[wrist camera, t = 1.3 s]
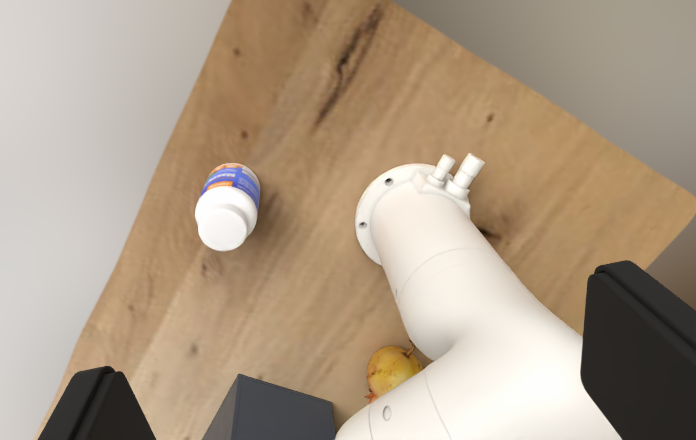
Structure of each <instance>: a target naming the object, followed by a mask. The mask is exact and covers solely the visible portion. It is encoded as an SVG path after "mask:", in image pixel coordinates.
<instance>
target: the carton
mask: <svg viewBox="0 0 696 440" xmlns="http://www.w3.org/2000/svg"><path fill="white" fill-rule="evenodd" d="M335 437H336V436H335V427H334V419H333V410H332V402H329V401H326V400H323V399H320V398H316V397H313V396H310V395H306V394H303V393H300V392H297V391H293V390H290V389H287V388H283V387H280V386H277V385H274V384H270V383H267V382H264V381H260V380H257V379H254V378H251V377H247V376H244V375H241V374H238V376H237V378H236V379H235V381H234V383H233V385H232V387H231V388H230V390H229V392H228V394H227V396H226V397H225V399H224V401H223V403H222V405H221V406H220V408H219V410H218V412H217V414H216V415H215V417H214V419H213V421H212V423H211V424H210V426H209V428H208V430H207V432H206V433H205V435H204V437H203V439H202V440H335Z"/></svg>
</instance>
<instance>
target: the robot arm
mask: <svg viewBox="0 0 696 440" xmlns="http://www.w3.org/2000/svg"><path fill="white" fill-rule="evenodd" d="M455 162H456V161H455V160H454V159H453V158H451V157H450V156H448V155H446V154H443V156H442V158H441V159H440V161H439V162H438V164H437V167H436V166H433V165H428V164H416V163H413V164H407V165H401V166H399V167H396V168H393V169H390V170H389V171H387V172H385V173H383V174H382V175H380V176H379V177H378V178H377V179H375V180H374V181H373V182H372V183H371V184H370V185H369V186H368V188H367V189H366V190H365V191H364V193H363V195H362V196H361V198H360V200H359V203H358V205H357V208H356V213H355V231H356V235H357V239H358V241H359V243H360V246H361V248H362V249H363V250H364V252H365V253H366V255H367V256H368V257H369V258H370V259H372V260H373V261H374V262H375V263H377V264H379V265H380V266H382V267H383V268H384V271H385V274H386V277H387V279H388V282H389V285H390V288H391V291H392V293H393V296H394V299H395V302H396V304H397V307H398V310H399V313H400V316H401V318H402V321H403V324H404V327H405V329H406V331H407V334H408V336H409V337H410V339H411V341H412V342H413V343H414V344H415V346H416V347H417V348H418V349H419V350H420V351H421V352H422V353H423V354H424V355H425V356H427V357H428V358H429V359H431V360H432V361H433V363H431V364H429V365H428V366H426V368H425V369H424V370H422V371H420V372H419V373H417V374H416V375H414V376H413V377H411V378H409V379H408V380H406V381H405V382H403V383H401V384H400V385H398V386H397V387H395V388H394V389H392V390H390V391H389V392H387V393H386V394H384V395H382V396H381V397H379V398H378V399H376V400H375V401H373V402H372V403H370V404H368V405H367V406H365V407H364V408H362V409H361V410H360V411H358V412H357V413H355V414H354V415H353V416H352V417H350V418H349V419H348V420H347V421H346V422H345V423H344V424H343V425H342V427H341V428H340V430H339V431H338V433H337V435H336V437H335V440H696V311H695V310H694V309H693V308H691V307H690V306H689V305H688V304H686V303H685V302H684V301H682V300H681V299H680V298H679V297H677V296H676V295H675V294H673V293H672V292H671V291H670V290H668V289H667V288H666V287H664V286H663V285H662V284H660V283H659V282H658V281H657V280H655V279H654V278H653V277H651V276H650V275H649V274H648V273H646V272H645V271H644V270H642V269H641V268H640V267H638V266H637V265H636V264H635V263H633V262H631V261H627V260H625V261H620V262H615V263H610V264H605V265H600V266H598V267H597V268H596V269H595V272H594V274H593V275H590V276H589V278H588V282H587V295H586V307H585V319H584V331H583V337H582V336H581V335H579V334H578V333H577V332H576V331H574V330H573V329H572V328H571V327H569V326H568V325H567V324H566V323H564V322H563V321H562V320H561V319H559V318H558V317H557V316H556V315H554V314H553V313H552V312H551V311H549V310H548V309H547V308H546V307H545V306H544V305H543V304H542V303H541V302H540V301H539V300H537V298H536V297H535V296H534V295H533V294H532V293H531V292H530V291H529V290H528V289H527V288H526V287H525V286H524V284H523V283H522V282H521V281H520V280H519V279H518V278H517V276H516V275H515V274H514V273H513V272H512V270H511V269H510V268H509V267H508V265H507V264H506V263H505V262H504V261H503V260H502V258H501V257H500V256H499V255H498V253H497V252H496V251H495V250H494V249H493V247H492V246H491V245H490V244H489V242H488V241H487V240H486V239H485V238H484V236H483V235H482V234H481V233H480V231H479V230H478V229H477V228H476V227H475V225H474V224H473V223H472V222H471V220H470V207H471V205H470V204H469V200H468V197H467V195H468V193H469V192H470V191H469V189H468V187H469V185H470V184H471V182H472V181H473V179H474V178H475V177H476V176H477V174H478V173H479V171H480V170H481V168H482V167H483V165H484V164H485V162H484V161H483V160H481V159H480V158H478V157H476V156H474V155H473V154H471V153H468V154H467V156H466V157H465V159H464V160H463V162H462V164H461V165H460V167H459V170H458V172H457V173H456V175H455V176H454V177H453V176H452V175H451V174H449V173H448V172H449V171H450V169H451V168H452V166H453V165H454V163H455ZM388 178H390V179H389V181H385V180H386V179H388ZM362 222H364V223H363V224H360V223H362ZM38 440H156V438H155V436H154V434H153V432H152V430H151V428H150V426H149V424H148V422H147V420H146V418H145V416H144V414H143V412H142V410H141V407H140V405H139V403H138V401H137V399H136V397H135V395H134V393H133V391H132V389H131V387H130V385H129V383H128V381H127V379H126V377H125V375H124V374H123V373H122V372H120V371H118V372H115V370H114V369H113V368H112V367H110V366H104V367H99V368H94V369H90V370H85V371H80V372H77V373H76V374H75V375H74V376H73V377H72V379H71V380H70V382H69V384H68V386H67V388H66V390H65V391H64V393H63V395H62V397H61V399H60V400H59V402H58V404H57V406H56V408H55V409H54V411H53V413H52V415H51V417H50V418H49V420H48V422H47V424H46V426H45V428H44V429H43V431H42V433H41V435H40V437H39V438H38Z"/></svg>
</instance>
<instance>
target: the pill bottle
mask: <svg viewBox="0 0 696 440" xmlns="http://www.w3.org/2000/svg"><path fill="white" fill-rule="evenodd" d="M259 200H260V184H259V181H258V178H257V176H256V175H255V174H254V173H253V171H251V170H250V169H249V168H247V167H246V166H244V165H241V164H236V163H228V164H223V165H221V166H219V167H217V168H216V169H214V170H213V171H212V172H211V173H210V175H209V177H208V178H207V181H206V183H205V186H204V188H203V191H202V193H201V196H200V198H199V201H198V203H197V206H196V210H195V218H196V222H197V225H198V231H199V235H200V238H201V240H202V241H203V242H204V243H205V244H206V245H207V246H208V247H210V248H212V249H214V250H218V251H230V250H233V249H235V248H237V247H239V246H240V245H241V244H242V243H243V242H244V240H245V238H246V237H247V236H248V235H249V234H250V233H251V232H252V231H253V229H254V227H255V225H256V222H257V216H258V208H259Z"/></svg>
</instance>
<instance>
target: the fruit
mask: <svg viewBox="0 0 696 440" xmlns="http://www.w3.org/2000/svg"><path fill="white" fill-rule="evenodd" d="M409 341H410V342H411V343H412V347H411V349H410V350H409V351H408V352H407V351H406V350H404V349H402V348H400V347H397V346H388V347H384V348H382V349H380V350H378V351H377V352H375V353H374V354H373V356H372V357H371V358H370V361H369V363H368V369H367V374H366V378H367V382H368V384H369V386H370V388H371V389H370V388H369V391H370V392H372V393H371V394H370V395H368V396H365V397H366V398H371V399H370V402H369V404H370V403H372V402H373V401H375V400H376V399H378V398H379V397H381V396H382V395H384V394H386V393H387V392H389V391H390V390H392V389H394V388H395V387H397V386H398V385H400V384H401V383H403V382H405V381H406V380H408V379H409V378H411V377H413V376H414V375H416V374H417V373H419V372H420V371H422V370H424V369H423V366H422V364H421V362H420V361H419V360H418V358H417V357H416V356H415V355H413V354H412V353H411V352H412V351H414V349H415V344H414V343H413V342H412V341H411V340H409Z"/></svg>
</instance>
